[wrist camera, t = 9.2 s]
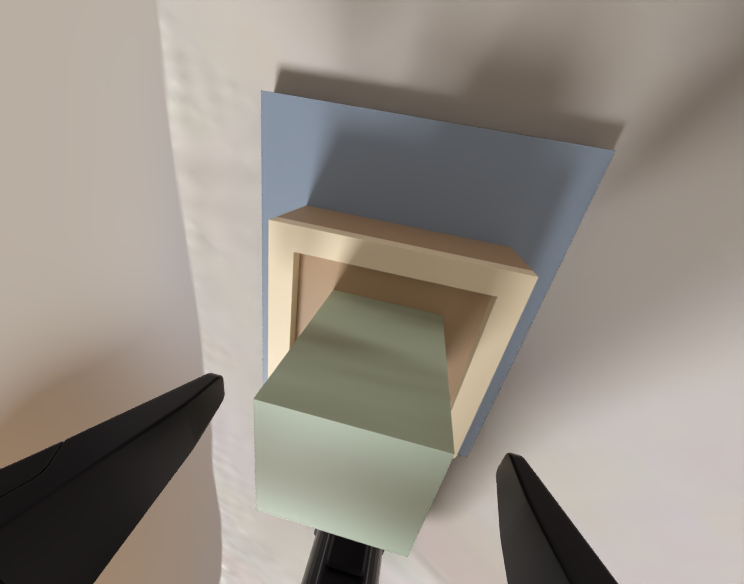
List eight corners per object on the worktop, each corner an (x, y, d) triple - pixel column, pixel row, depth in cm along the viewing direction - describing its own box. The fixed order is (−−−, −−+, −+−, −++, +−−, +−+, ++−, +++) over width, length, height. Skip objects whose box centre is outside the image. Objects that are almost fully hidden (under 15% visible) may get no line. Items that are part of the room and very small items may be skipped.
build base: (464, 443, 20) (474, 519, 15) (270, 391, 21) (230, 448, 17) (601, 151, 12) (695, 147, 7) (272, 95, 13) (199, 65, 9)
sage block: (416, 397, 13) (407, 557, 8) (323, 373, 14) (256, 510, 8) (442, 315, 11) (454, 454, 6) (333, 289, 12) (253, 398, 6)
